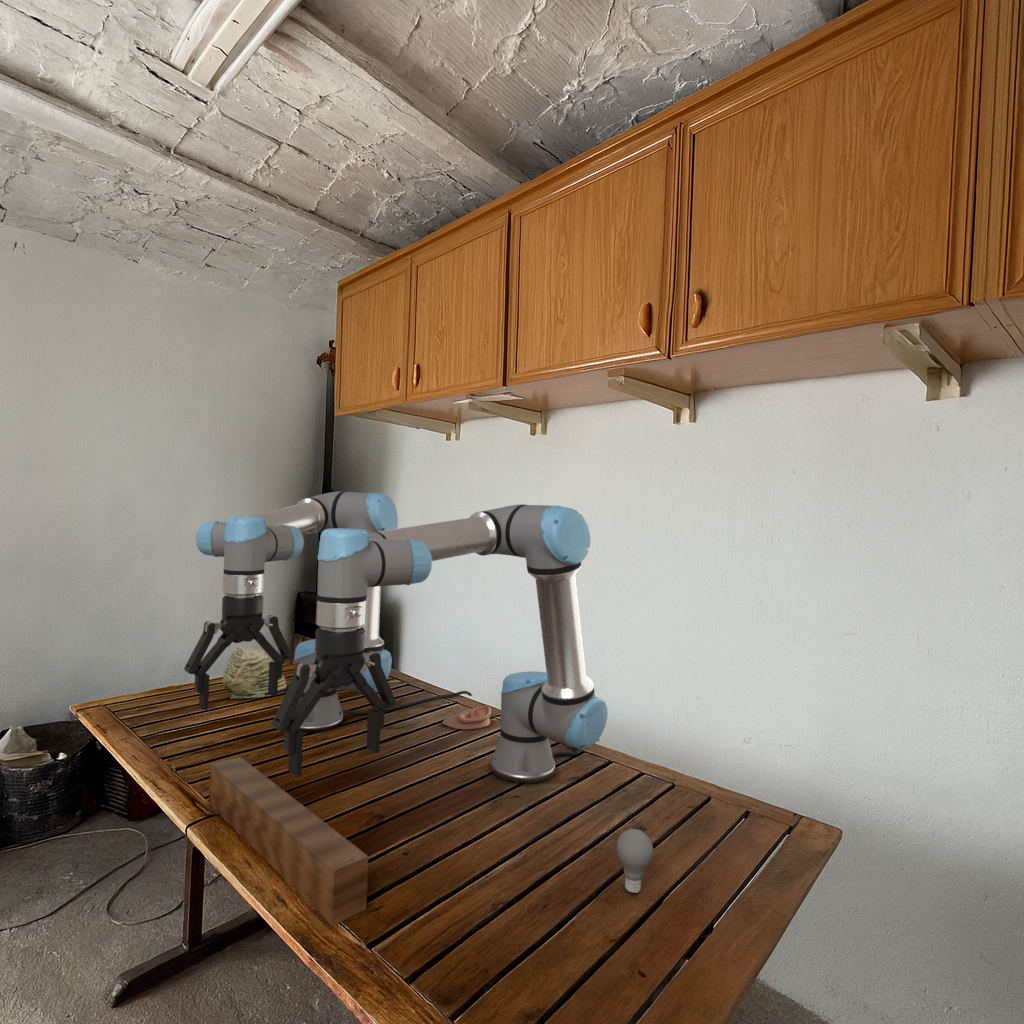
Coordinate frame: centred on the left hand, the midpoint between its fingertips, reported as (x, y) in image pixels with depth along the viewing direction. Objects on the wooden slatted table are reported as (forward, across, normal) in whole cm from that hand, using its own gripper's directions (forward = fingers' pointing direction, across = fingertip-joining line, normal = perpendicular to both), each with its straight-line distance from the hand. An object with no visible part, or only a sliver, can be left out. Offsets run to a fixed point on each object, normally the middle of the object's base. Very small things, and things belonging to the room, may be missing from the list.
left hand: (239, 701), depth 126 cm
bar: (+22, 0, -18) cm, 29 cm away
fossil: (+22, +33, +69) cm, 79 cm away
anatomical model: (+22, +69, +9) cm, 73 cm away
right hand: (0, 0, -37) cm, 37 cm away
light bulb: (+22, +38, -68) cm, 81 cm away
